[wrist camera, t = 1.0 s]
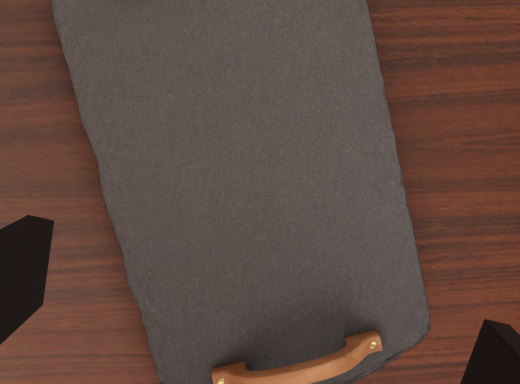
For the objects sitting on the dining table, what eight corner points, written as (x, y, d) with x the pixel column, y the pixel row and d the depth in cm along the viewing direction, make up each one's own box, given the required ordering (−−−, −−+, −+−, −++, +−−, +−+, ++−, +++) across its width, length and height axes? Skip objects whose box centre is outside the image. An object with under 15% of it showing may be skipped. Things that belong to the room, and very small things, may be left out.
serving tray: (430, 351, 40) (462, 391, 34) (175, 411, 41) (161, 461, 35) (336, -112, 35) (353, -163, 29) (45, -38, 36) (1, -73, 29)
